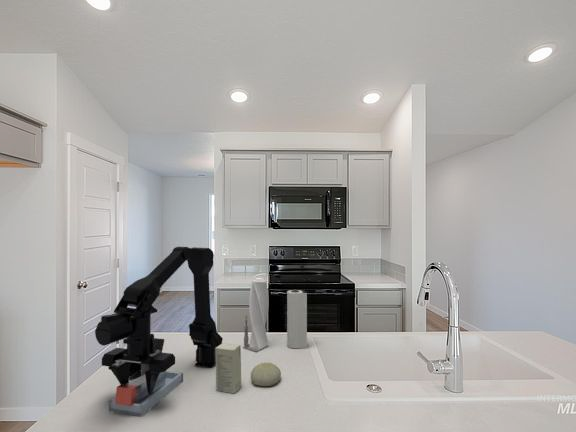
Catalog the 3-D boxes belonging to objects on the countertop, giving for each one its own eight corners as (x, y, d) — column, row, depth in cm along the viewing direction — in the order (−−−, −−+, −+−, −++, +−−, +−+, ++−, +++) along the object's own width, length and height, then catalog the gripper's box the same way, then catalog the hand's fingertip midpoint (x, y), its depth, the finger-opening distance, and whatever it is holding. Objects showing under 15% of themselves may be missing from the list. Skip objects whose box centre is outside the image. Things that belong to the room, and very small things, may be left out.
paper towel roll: (284, 344, 128) (284, 290, 128) (298, 342, 130) (298, 288, 131) (292, 351, 121) (292, 293, 122) (306, 348, 124) (306, 292, 124)
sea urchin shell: (289, 373, 99) (275, 360, 95) (276, 398, 95) (261, 386, 91) (268, 364, 106) (255, 351, 102) (255, 388, 101) (241, 376, 97)
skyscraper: (257, 341, 131) (257, 272, 132) (273, 346, 126) (273, 274, 127) (242, 348, 124) (243, 274, 125) (258, 353, 119) (259, 276, 120)
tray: (183, 381, 98) (183, 372, 98) (141, 416, 80) (141, 406, 80) (155, 377, 100) (155, 369, 100) (108, 411, 82) (108, 401, 82)
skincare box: (241, 386, 95) (242, 344, 95) (234, 394, 91) (234, 350, 91) (222, 383, 97) (222, 342, 97) (214, 390, 93) (214, 347, 93)
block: (161, 370, 105) (162, 350, 105) (145, 382, 97) (145, 360, 98) (139, 367, 107) (139, 348, 107) (121, 379, 99) (122, 358, 100)
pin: (165, 384, 94) (167, 370, 95) (130, 406, 80) (132, 388, 80) (152, 383, 95) (153, 368, 96) (115, 403, 81) (116, 386, 81)
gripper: (186, 326, 92) (186, 381, 91) (130, 321, 96) (129, 374, 96) (162, 339, 81) (162, 402, 81) (100, 333, 85) (99, 393, 85)
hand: (138, 392), depth 86 cm, fingers open, 7 cm apart
